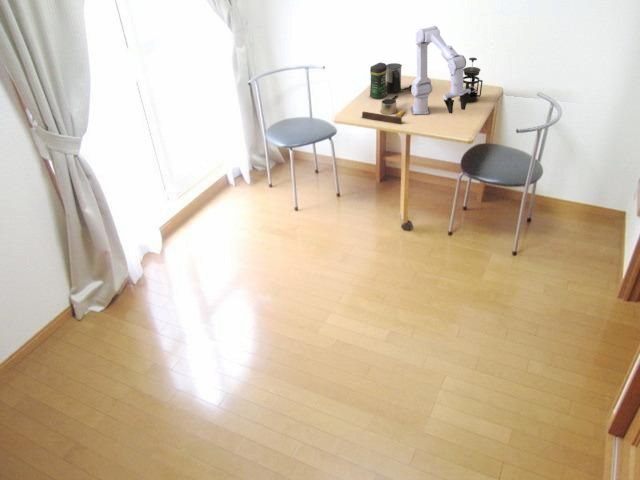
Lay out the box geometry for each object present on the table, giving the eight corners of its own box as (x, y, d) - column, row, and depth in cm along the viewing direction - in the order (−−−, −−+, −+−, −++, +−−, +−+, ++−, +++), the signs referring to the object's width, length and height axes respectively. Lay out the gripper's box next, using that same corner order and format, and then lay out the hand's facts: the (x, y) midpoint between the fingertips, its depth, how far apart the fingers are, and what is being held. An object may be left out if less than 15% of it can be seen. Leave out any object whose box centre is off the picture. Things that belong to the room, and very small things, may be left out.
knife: (400, 112, 279) (400, 109, 278) (404, 112, 278) (404, 110, 277) (391, 120, 271) (392, 118, 270) (395, 121, 270) (395, 119, 269)
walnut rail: (362, 117, 277) (362, 112, 275) (363, 116, 278) (363, 111, 276) (400, 124, 267) (400, 118, 265) (401, 122, 268) (401, 117, 266)
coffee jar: (379, 100, 294) (379, 67, 283) (367, 97, 299) (367, 65, 287) (388, 94, 300) (389, 62, 289) (377, 92, 304) (377, 60, 293)
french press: (456, 101, 286) (460, 59, 272) (462, 95, 292) (466, 54, 278) (476, 104, 280) (481, 62, 266) (482, 98, 286) (487, 56, 272)
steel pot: (392, 115, 277) (392, 105, 273) (379, 113, 280) (379, 103, 277) (403, 104, 287) (403, 95, 284) (390, 102, 290) (390, 93, 287)
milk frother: (382, 89, 306) (382, 64, 297) (405, 84, 311) (405, 59, 302) (395, 97, 296) (395, 71, 287) (418, 91, 301) (419, 66, 292)
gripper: (449, 87, 238) (449, 116, 244) (474, 81, 242) (474, 109, 249) (440, 85, 243) (440, 113, 250) (464, 78, 248) (464, 106, 255)
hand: (456, 111), depth 250 cm, fingers open, 7 cm apart
